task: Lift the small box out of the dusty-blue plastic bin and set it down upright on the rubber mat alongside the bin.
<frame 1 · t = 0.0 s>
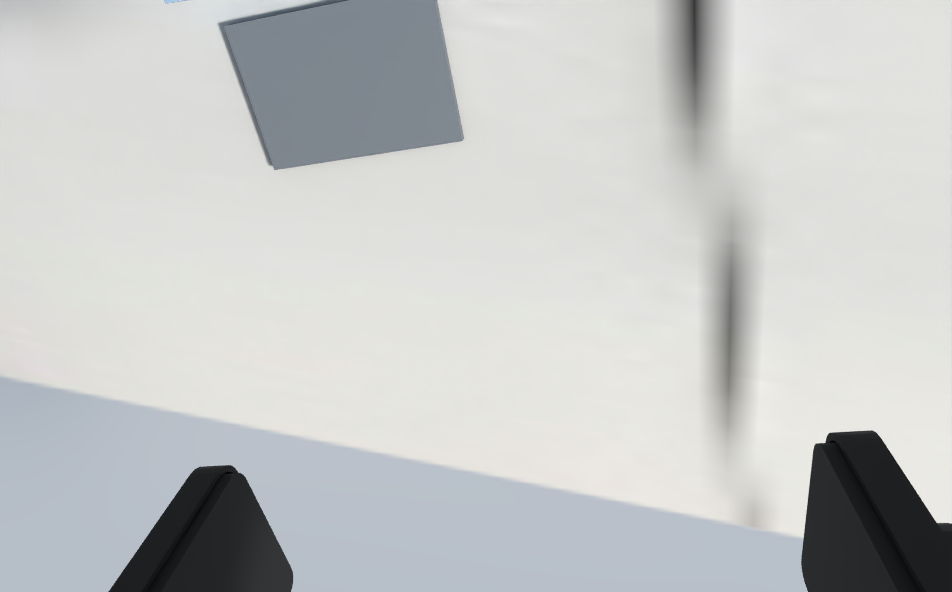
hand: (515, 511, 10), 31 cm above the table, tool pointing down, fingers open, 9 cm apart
mat: (348, 83, 38), on the table
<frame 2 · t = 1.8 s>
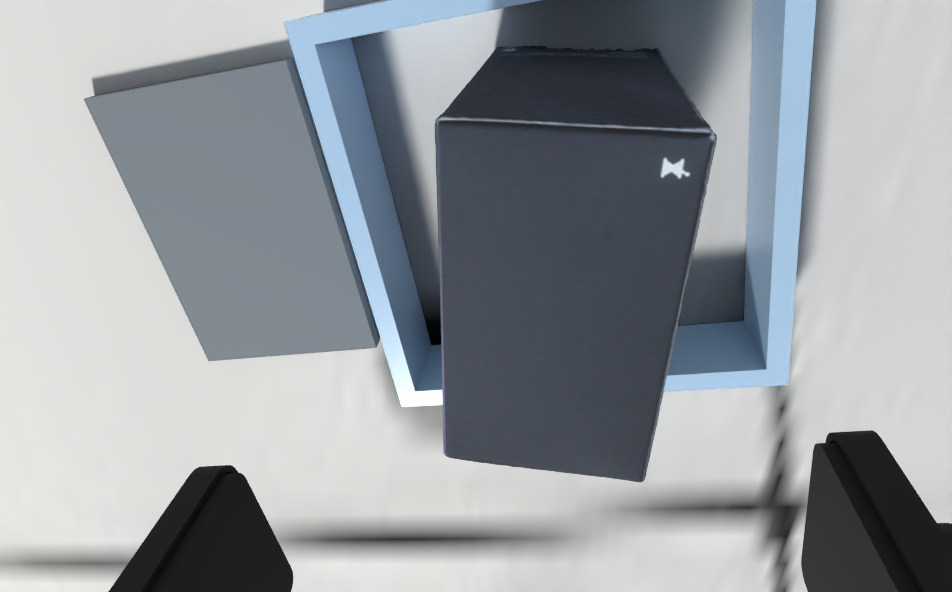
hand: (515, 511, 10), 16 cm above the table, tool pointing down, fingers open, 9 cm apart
bin: (561, 187, 24), on the table
small box: (561, 184, 24), resting in bin
mat: (247, 227, 27), on the table
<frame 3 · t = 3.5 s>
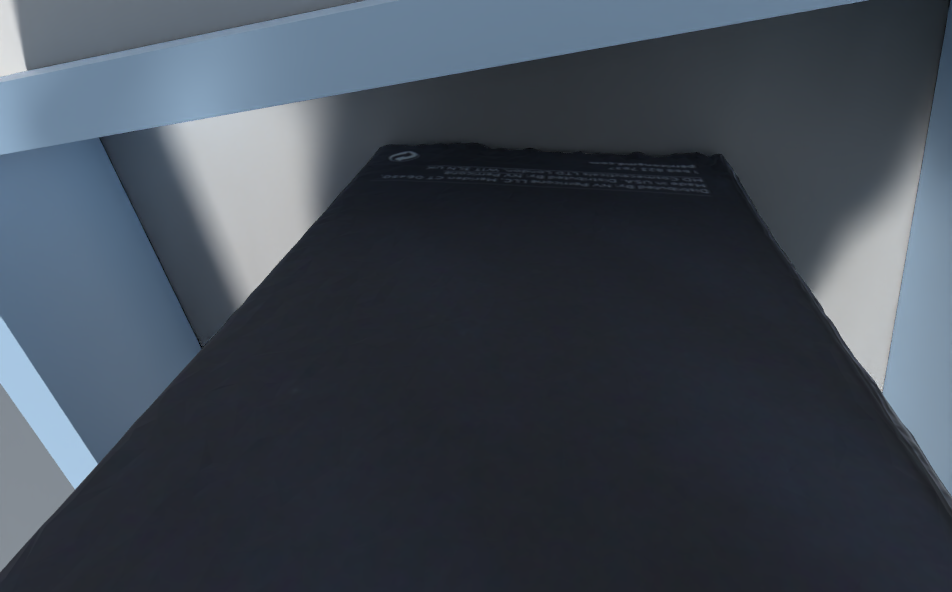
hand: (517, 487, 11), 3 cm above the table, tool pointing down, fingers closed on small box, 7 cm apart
bin: (525, 387, 13), on the table
small box: (525, 378, 13), resting in bin, touching gripper
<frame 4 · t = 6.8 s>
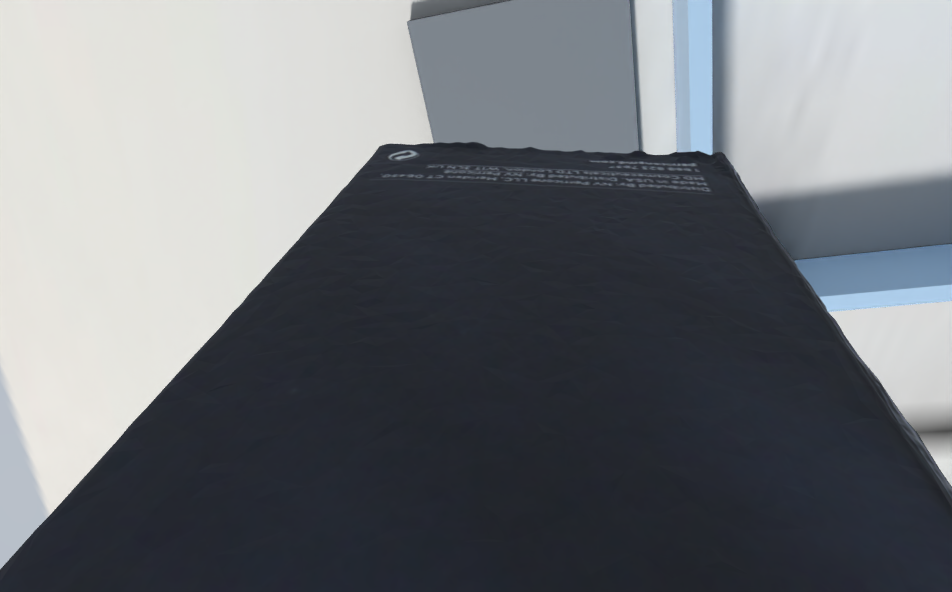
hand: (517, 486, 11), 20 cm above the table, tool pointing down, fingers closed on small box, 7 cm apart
bin: (872, 103, 25), on the table
small box: (526, 378, 13), point 17 cm above the table, touching gripper
mat: (536, 153, 28), on the table
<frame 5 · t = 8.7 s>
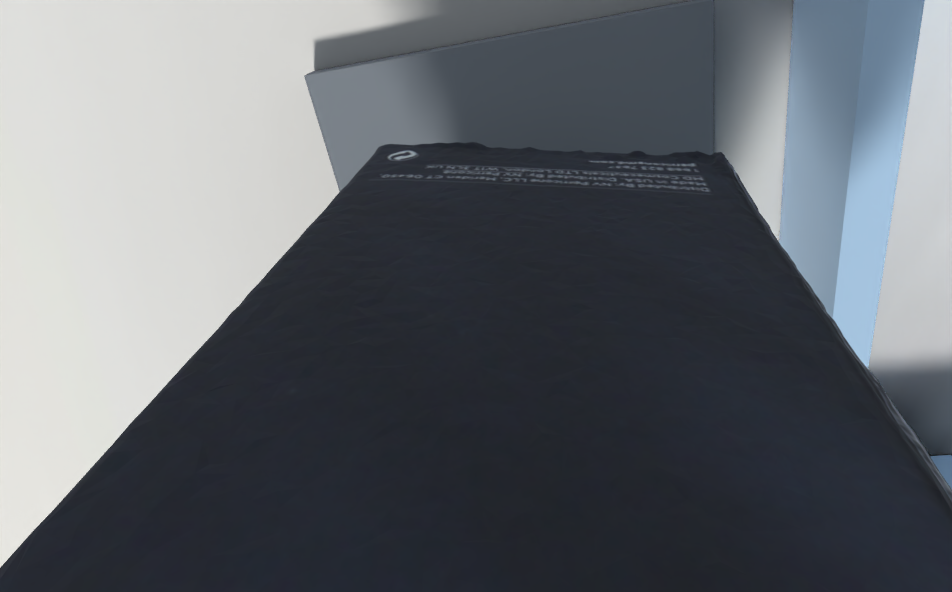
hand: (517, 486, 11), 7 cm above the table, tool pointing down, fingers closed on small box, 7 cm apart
small box: (526, 378, 13), point 4 cm above the table, touching gripper
mat: (536, 287, 17), on the table
when the fingers open (5 cm above the table, at t = 10.1 s): small box drops 1 cm, resting on mat.
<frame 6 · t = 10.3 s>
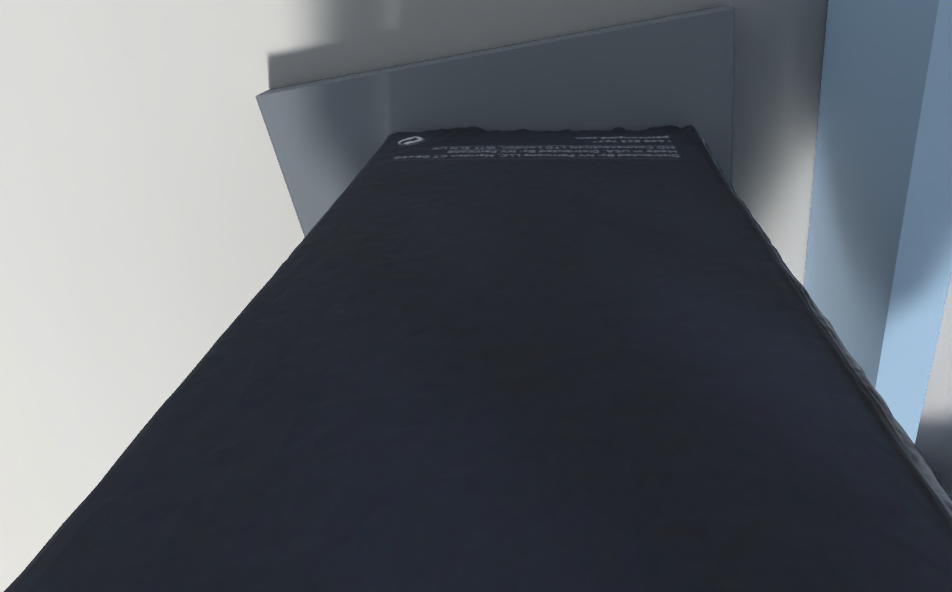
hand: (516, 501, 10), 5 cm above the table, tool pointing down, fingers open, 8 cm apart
small box: (529, 343, 14), resting on mat
mat: (528, 331, 15), on the table
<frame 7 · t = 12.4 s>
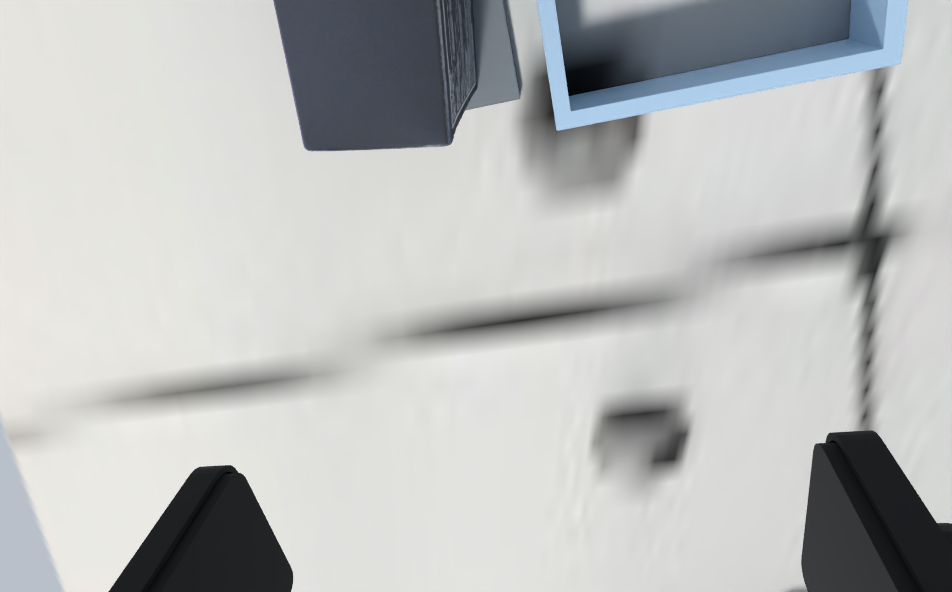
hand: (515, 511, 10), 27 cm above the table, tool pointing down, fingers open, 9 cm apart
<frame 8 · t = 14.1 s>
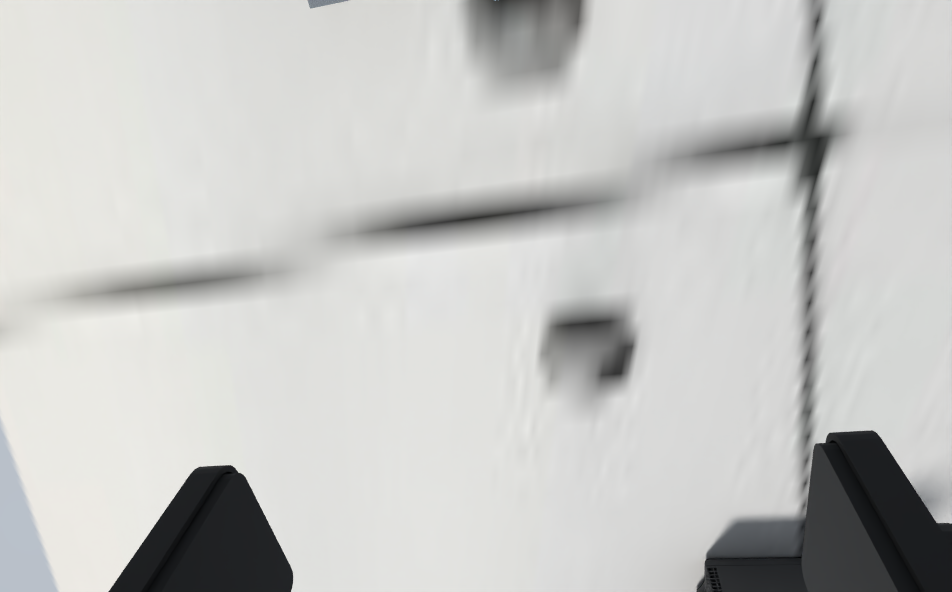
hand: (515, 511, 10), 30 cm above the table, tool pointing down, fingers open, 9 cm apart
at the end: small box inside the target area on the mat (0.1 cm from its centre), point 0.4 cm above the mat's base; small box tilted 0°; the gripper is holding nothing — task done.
